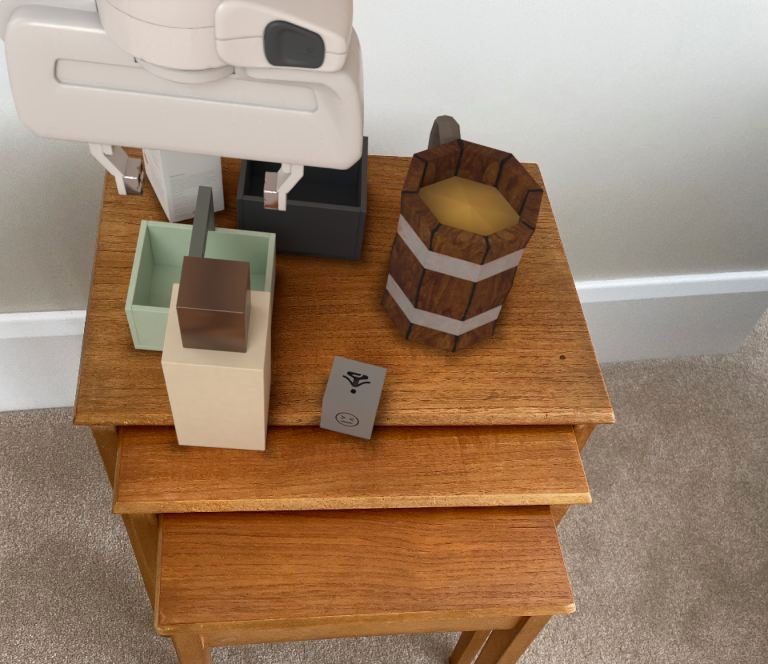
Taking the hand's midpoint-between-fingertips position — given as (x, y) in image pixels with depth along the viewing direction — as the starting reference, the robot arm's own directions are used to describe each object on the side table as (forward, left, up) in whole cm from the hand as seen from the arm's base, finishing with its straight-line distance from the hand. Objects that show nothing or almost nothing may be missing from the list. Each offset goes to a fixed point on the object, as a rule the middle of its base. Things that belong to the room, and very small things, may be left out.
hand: (204, 196), depth 52 cm
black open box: (+6, +25, -26) cm, 37 cm away
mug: (+21, +18, -26) cm, 38 cm away
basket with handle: (-3, +11, -26) cm, 28 cm away
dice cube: (+12, 0, -26) cm, 29 cm away
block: (0, -1, -13) cm, 13 cm away
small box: (-7, +27, -26) cm, 38 cm away
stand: (0, -1, -26) cm, 26 cm away
